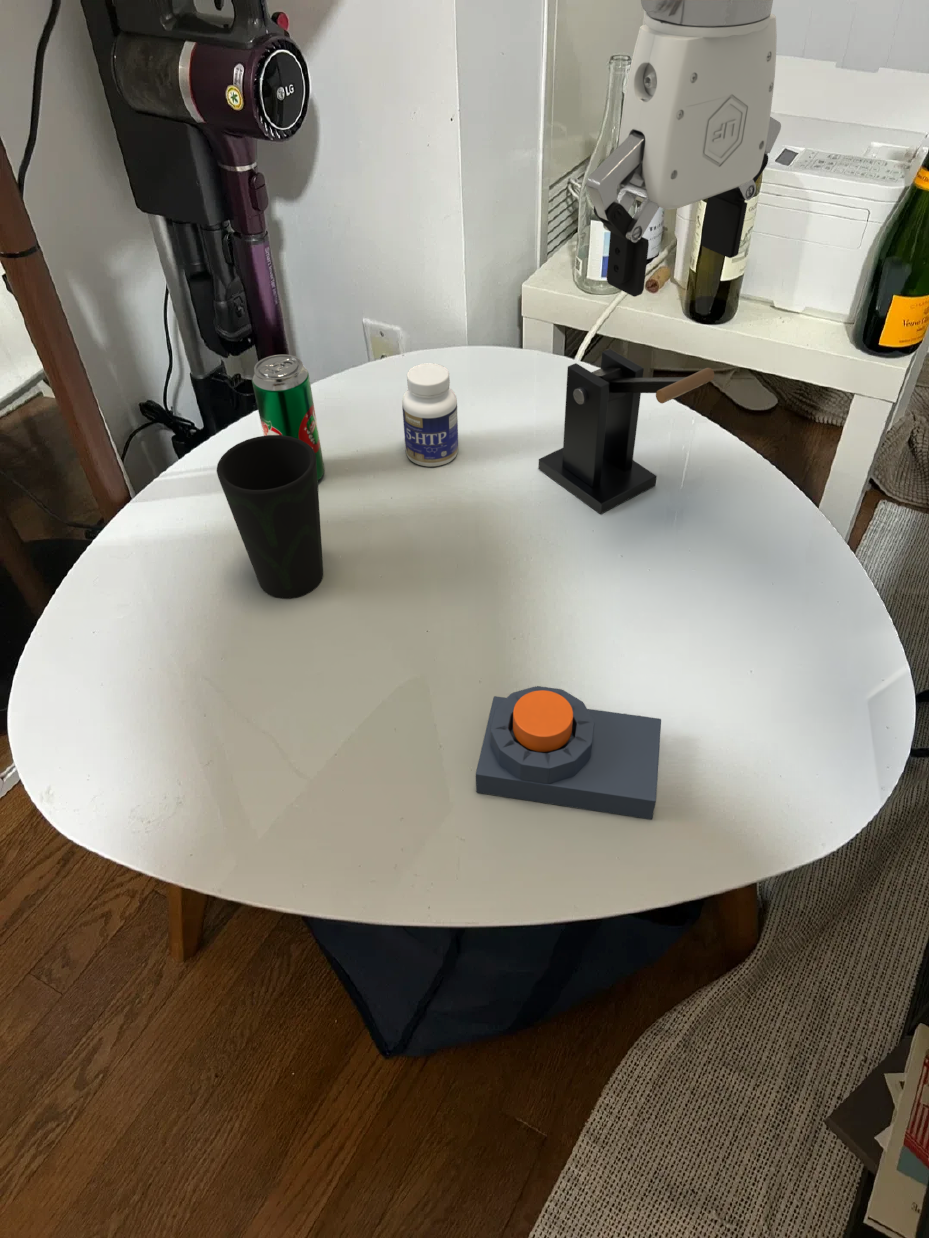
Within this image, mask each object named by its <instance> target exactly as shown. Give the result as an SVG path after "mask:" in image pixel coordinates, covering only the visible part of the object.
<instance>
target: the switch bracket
mask: <svg viewBox="0 0 929 1238" xmlns="http://www.w3.org/2000/svg"><path fill="white" fill-rule="evenodd" d="M603 368H621V372H622V377H623V378H644V371H645V368H644V367H642V366H641V365H639V364H638V363H635V362H634V361H632V360H630V359H629V358H627V357H625V356H623V355H622V354H620V353H618V352H616V351H615V350H614V349H611V348H608V349H605V350H604V351H602V352H601V359H600V369H603ZM592 372H593V371H590V370H589V369H587V368H585V367H584V366H582V365H580V364H579V363H577V362H575V363H573V364H570V365H568V366H567V372H566V391H565V407H564V424H563V425H564V426H563V429H564V430H563V444H562V448H559V449H557V450H554V451H553V452H551V453H549V454H547V455H544V456H542V457H540V458H538V467H537V468H538V470H539V471H541V472H542V473H543V474H544V475H546V476H547V477H549V478H550V479H551V480H552V481H554V482H556V483H557V484H558V485H559V486H561V487H562V488H564V489H565V490H567V491H568V492H569V493H571V494H572V495H573V496H575V497H576V498H577V499H579V500H580V501H581V502H583V503H584V504H586V505H587V506H589V508H590V509H593V510H594V511H595V512H596V513H598V514H599V515H602V514H603V513H605V512H608V511H609V510H611V509H614V508H615V507H617V506H619V505H621V504H623V503H625V502H627V501H628V500H631V499H633V498H635V497H636V496H639V495H641V494H642V493H644V492H646V491H648V490H649V489H652V488H653V487H655V486H656V484H657V476H658V475H656V474H655V473H653V472H652V471H650V470H649V469H647V468H646V467H644V466H643V465H641V464H639V463H638V462H637V461H635V460H634V452H635V445H636V437H637V429H638V420H639V411H640V404H641V403H640V402H641V396H642V393H626V395H624V396H622V397H619V398H617V399H615V400H613V401H611V402H608V396H609V385H610V383H608V382H607V381H605V380H603V379H602V378H600V377H598V376H597V375H595V374H593V373H592Z"/></svg>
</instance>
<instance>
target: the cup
mask: <svg viewBox="0 0 929 1238" xmlns="http://www.w3.org/2000/svg"><path fill="white" fill-rule="evenodd" d="M215 471H216V474H217V478H218V481H219V483H220V486H221V489H222V491H223V493H224V496H225V499H226V501H227V504H228V507H229V509H230V512H231V514H232V518H233V519H234V521H235V526H236V527H237V529H238V530H237V531H238V533H239V535H240V538H241V540H242V543H243V545H244V548H245V550H246V553H247V556H248V558H249V561H250V564H251V566H252V569H253V572H254V574H255V576H256V579H257V581H258V584H259V587H260V588H261V590H262V591H263V592H264V593H265V594H267V595H268V596H270V597H273V598H277V599H284V600H285V599H288V600H290V599H296V598H301V597H303V596H306V595H308V594H310V593H312V592H313V591H314V590H315V589H316V588H318V587H319V585H320V584H321V583H322V580H323V578H324V563H323V546H322V531H321V516H320V515H321V514H320V497H319V480H318V479H317V463H316V455H315V452H314V450H313V449H312V448H311V447H310V446H309V445H308V444H307V443H305V442H303V441H302V440H300V439H297V438H294V437H291V436H284V435H266V436H264V435H260V436H255V437H252V438H249V439H246V440H243V441H241V442H238V443H236V444H235V445H233V446H232V447H231V448H229V449H228V450H226V451H225V452H224V454H222V455H221V457H220V458H219V461H218V462H217V465H216V470H215Z"/></svg>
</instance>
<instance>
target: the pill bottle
mask: <svg viewBox="0 0 929 1238" xmlns="http://www.w3.org/2000/svg"><path fill="white" fill-rule="evenodd" d="M406 381H407V390H406V391H405V392H404V394H403V395H402V398H401V405H402V407H401V408H402V420H403V434H404V447H405V455H406V457H407V458H408V459H409V460H410V461H411V462H413V463H414V464H416V465H419V466H422V467H439V466H443V465H446V464H448V463H450V462H452V461H453V460H454V459H456V456H457V455H458V452H459V425H458V424H459V423H458V422H459V421H458V420H459V419H458V400H457V399H458V398H457V395H456V393H455V392H454V390H453V389H452V388H451V380H450V372H449V369H448V368H447V367H445V366H444V365H441V364H438V363H433V362H426V363H421V364H417V365H415V366H412V367H411V368H410V369H409V370H408V371H407V374H406Z"/></svg>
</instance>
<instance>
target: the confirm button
mask: <svg viewBox="0 0 929 1238" xmlns="http://www.w3.org/2000/svg"><path fill="white" fill-rule="evenodd" d="M572 723H573V710H572V707H571V705H570V704H569V702H568V701H567V700H566V699H565V698H564V697H562V696H561V695H559V694H557V693H555V692H551V691H544V690H540V691H533V692H530V693H528V694H526V695H524V696H522V697H521V698H520V699H519V700H518V701H517V703H516V704H515V706H514V710H513V732H514V735H515V737H516V739H517V740H518V741H519V742H520V743H521V744H522V745H523V746H524V747H526V748H528V749H530V750H533V751H537V752H550V751H554V750H557V749H559V748H561V747H562V746H564V745H565V744H566V743H567V741H568V740H569V739H570V736H571V733H572Z"/></svg>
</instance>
